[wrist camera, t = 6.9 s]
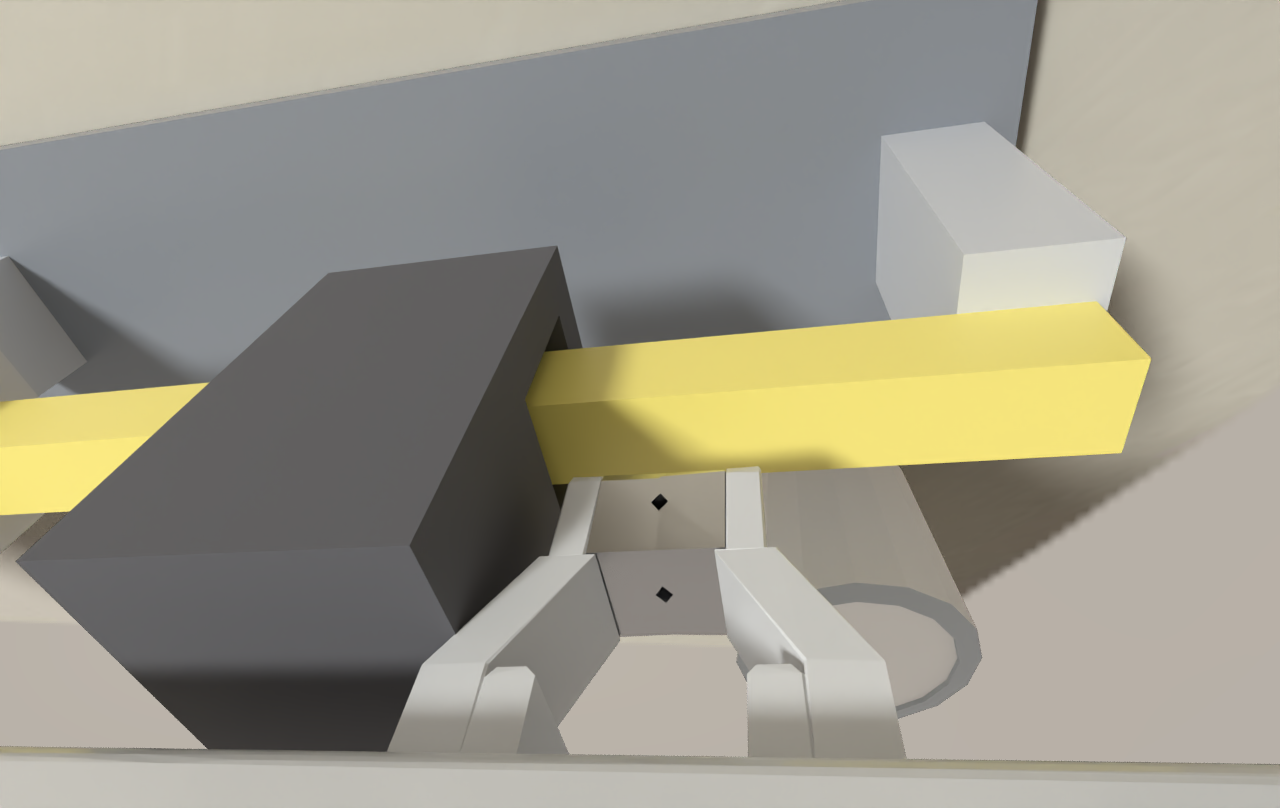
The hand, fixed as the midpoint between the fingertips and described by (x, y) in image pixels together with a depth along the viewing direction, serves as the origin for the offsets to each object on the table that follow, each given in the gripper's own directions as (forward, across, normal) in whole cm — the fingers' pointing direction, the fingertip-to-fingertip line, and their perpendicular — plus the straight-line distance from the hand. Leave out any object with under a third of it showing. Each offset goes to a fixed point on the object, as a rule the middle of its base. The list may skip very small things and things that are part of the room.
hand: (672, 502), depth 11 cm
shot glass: (+12, -4, +11) cm, 16 cm away
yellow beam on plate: (+11, +8, 0) cm, 14 cm away
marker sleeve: (+5, +5, 0) cm, 7 cm away
